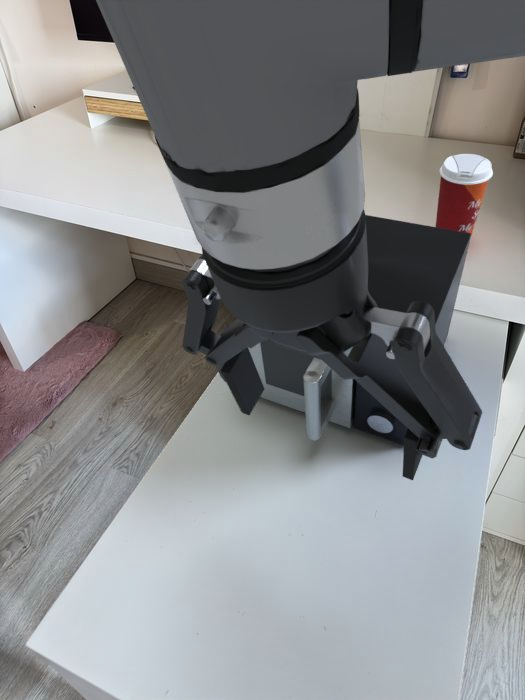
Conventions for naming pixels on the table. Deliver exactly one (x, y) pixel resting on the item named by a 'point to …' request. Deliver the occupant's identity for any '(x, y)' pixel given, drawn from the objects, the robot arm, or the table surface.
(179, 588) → the table surface
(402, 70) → the robot arm
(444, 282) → the microwave
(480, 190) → the coffee cup
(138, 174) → the table surface
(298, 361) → the microwave door
